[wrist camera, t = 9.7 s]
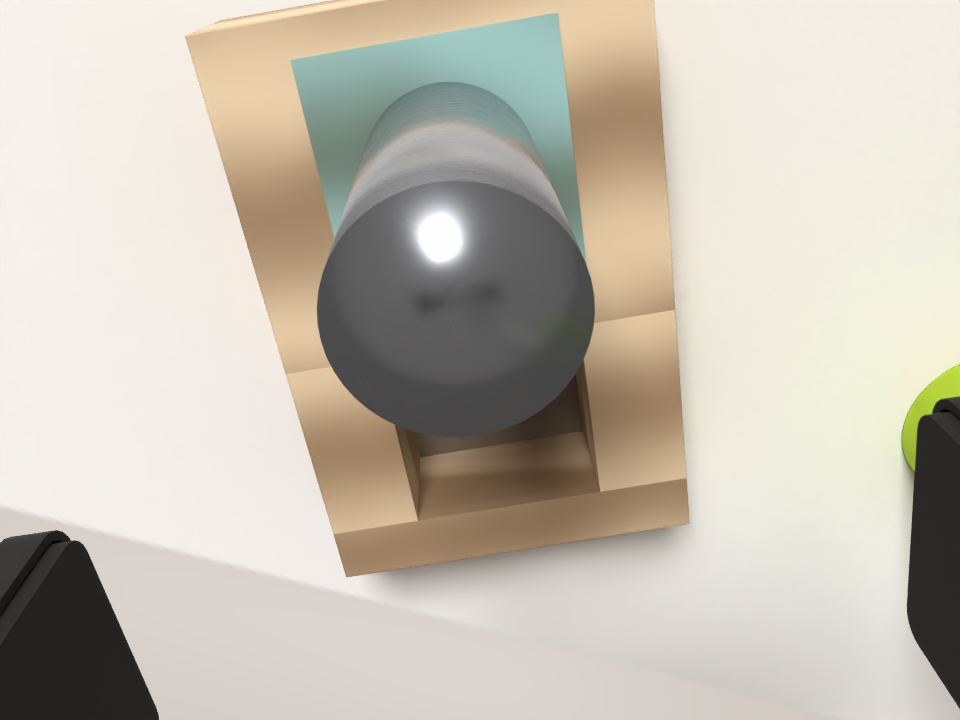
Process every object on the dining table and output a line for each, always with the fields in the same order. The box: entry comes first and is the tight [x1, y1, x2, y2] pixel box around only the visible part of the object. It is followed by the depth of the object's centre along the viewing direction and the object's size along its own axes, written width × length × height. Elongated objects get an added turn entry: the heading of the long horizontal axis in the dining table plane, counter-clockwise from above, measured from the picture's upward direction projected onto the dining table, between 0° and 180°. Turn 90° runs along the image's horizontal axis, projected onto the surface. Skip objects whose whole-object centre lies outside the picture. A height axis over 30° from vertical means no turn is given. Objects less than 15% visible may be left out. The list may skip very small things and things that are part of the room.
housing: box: [185, 0, 689, 577], centre depth 28 cm, size 18×12×4 cm, turn 9°
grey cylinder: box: [317, 82, 595, 437], centre depth 20 cm, size 5×5×10 cm
